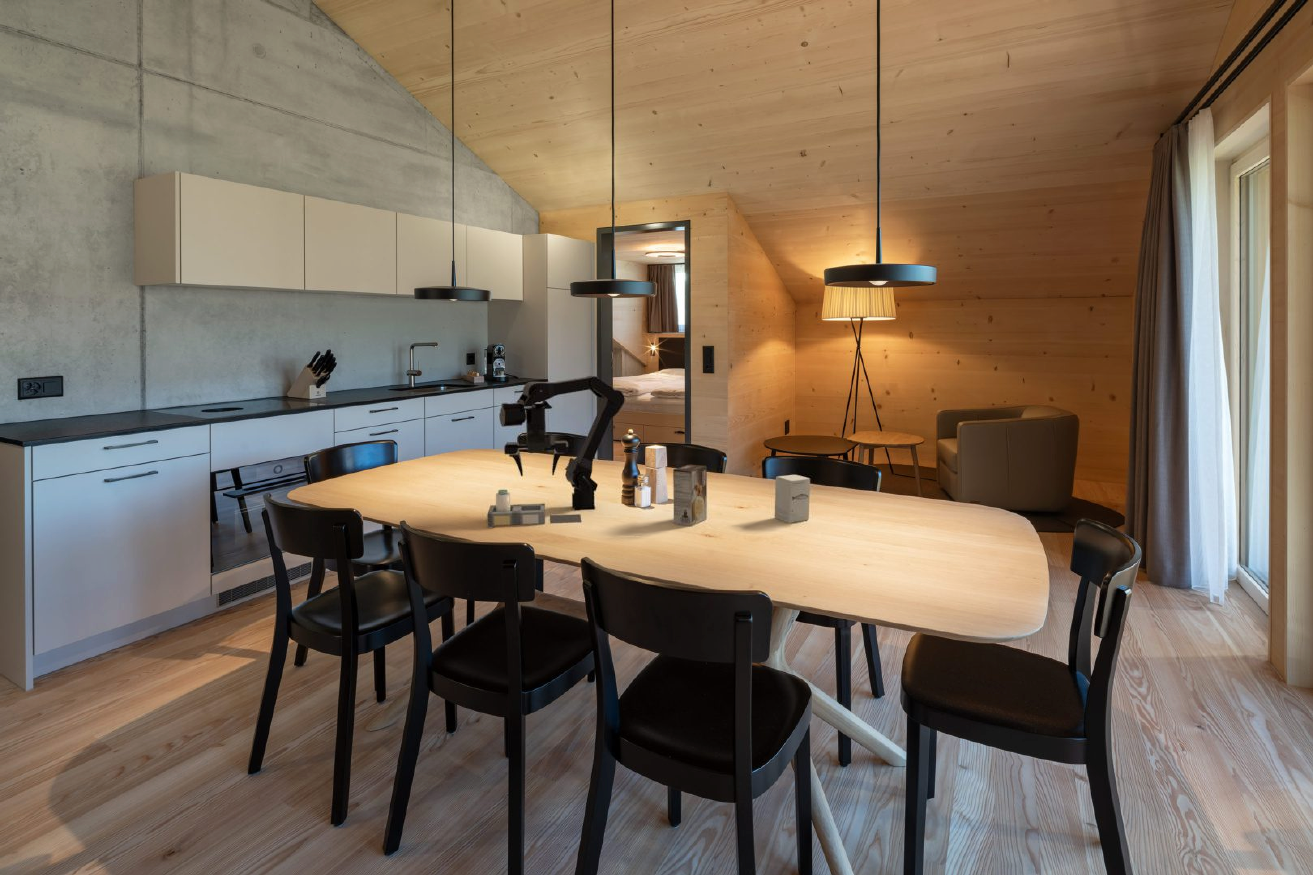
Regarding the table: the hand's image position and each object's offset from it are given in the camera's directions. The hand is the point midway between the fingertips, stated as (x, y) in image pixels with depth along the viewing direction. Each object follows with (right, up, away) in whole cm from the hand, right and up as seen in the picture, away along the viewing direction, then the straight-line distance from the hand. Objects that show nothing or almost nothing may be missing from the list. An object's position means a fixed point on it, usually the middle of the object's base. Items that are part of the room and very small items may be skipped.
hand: (537, 475), depth 222 cm
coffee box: (+46, -13, -7) cm, 48 cm away
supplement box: (+76, -13, -5) cm, 77 cm away
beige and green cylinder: (-9, -13, -8) cm, 17 cm away
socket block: (-5, -13, -7) cm, 15 cm away
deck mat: (+9, -13, -5) cm, 16 cm away
